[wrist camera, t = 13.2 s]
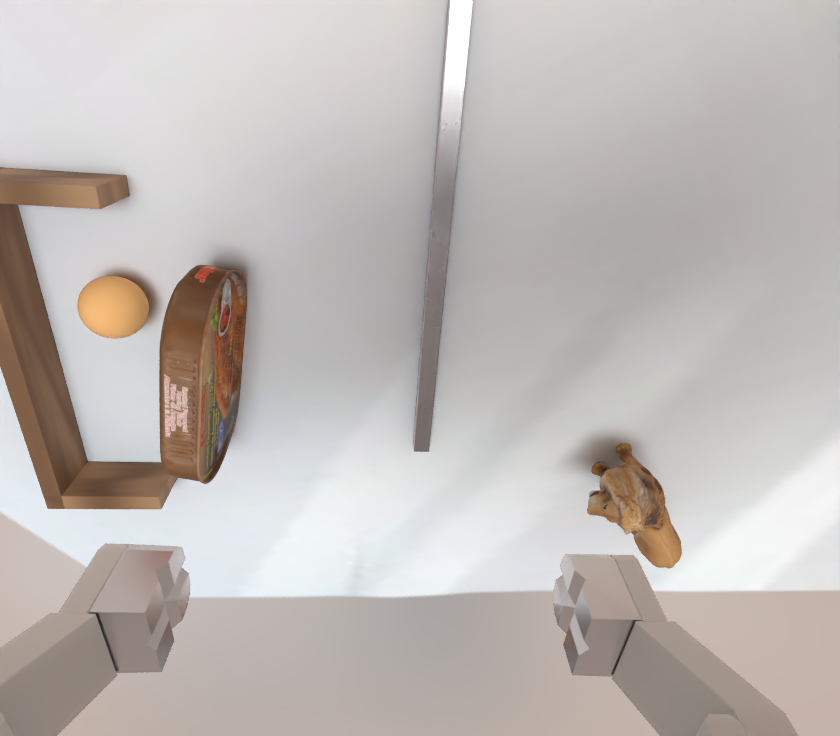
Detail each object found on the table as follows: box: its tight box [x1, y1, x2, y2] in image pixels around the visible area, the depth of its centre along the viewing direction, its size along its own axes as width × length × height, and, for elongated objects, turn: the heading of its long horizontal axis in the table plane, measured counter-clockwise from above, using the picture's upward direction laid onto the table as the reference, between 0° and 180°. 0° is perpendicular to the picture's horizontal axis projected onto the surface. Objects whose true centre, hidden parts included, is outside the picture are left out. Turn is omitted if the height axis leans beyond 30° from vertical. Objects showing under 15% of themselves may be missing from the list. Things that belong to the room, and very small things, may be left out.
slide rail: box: [413, 0, 473, 452], centre depth 36 cm, size 1×32×1 cm, turn 176°
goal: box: [0, 168, 177, 509], centre depth 36 cm, size 8×23×4 cm, turn 176°
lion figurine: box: [587, 444, 682, 568], centre depth 43 cm, size 15×5×9 cm, turn 40°
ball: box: [78, 276, 149, 338], centre depth 35 cm, size 4×4×4 cm
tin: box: [159, 265, 247, 484], centre depth 35 cm, size 15×3×8 cm, turn 167°
